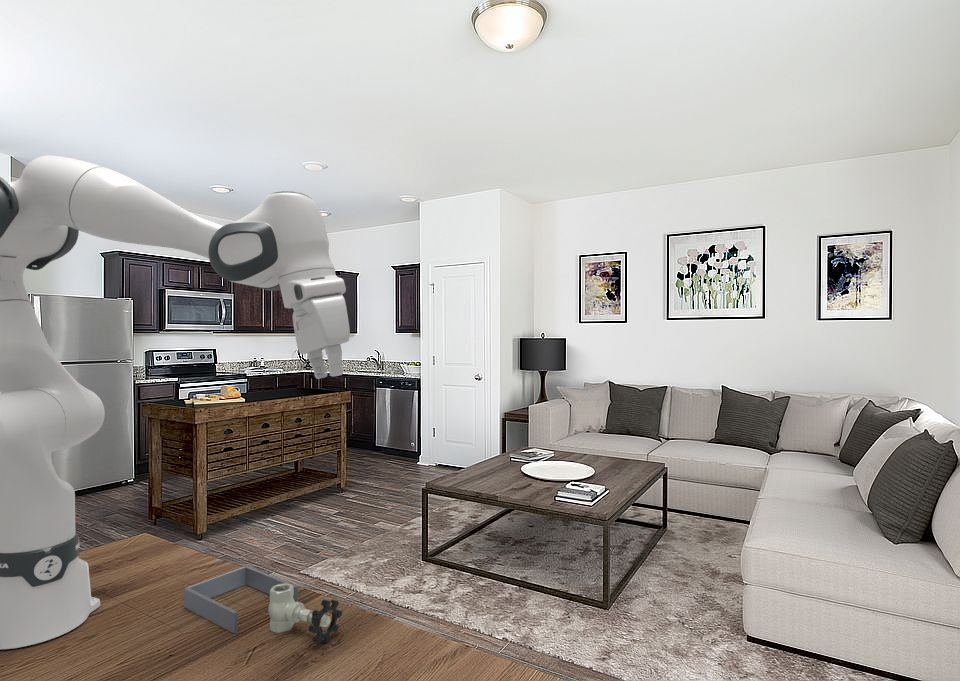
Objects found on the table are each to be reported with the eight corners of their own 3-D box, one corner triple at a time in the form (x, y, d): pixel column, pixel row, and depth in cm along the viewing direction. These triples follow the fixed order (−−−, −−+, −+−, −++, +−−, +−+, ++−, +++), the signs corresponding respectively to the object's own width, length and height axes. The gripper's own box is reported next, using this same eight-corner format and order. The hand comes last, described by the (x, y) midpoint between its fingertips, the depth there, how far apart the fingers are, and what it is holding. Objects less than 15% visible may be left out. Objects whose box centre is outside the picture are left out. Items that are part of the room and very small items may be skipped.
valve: (256, 634, 93) (313, 653, 88) (256, 593, 93) (312, 609, 88) (287, 616, 99) (342, 633, 94) (287, 577, 99) (342, 592, 94)
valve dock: (183, 607, 102) (183, 588, 102) (246, 582, 112) (246, 565, 112) (234, 633, 93) (234, 613, 93) (297, 604, 103) (297, 586, 103)
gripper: (279, 305, 100) (296, 383, 101) (304, 284, 83) (325, 379, 83) (315, 299, 104) (331, 375, 104) (347, 278, 86) (367, 369, 86)
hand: (329, 377), depth 93 cm, fingers open, 8 cm apart
